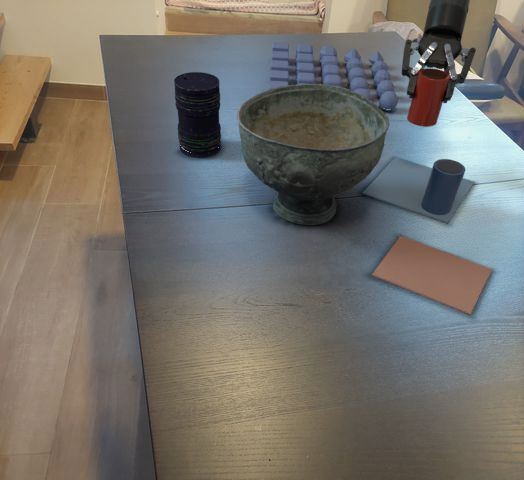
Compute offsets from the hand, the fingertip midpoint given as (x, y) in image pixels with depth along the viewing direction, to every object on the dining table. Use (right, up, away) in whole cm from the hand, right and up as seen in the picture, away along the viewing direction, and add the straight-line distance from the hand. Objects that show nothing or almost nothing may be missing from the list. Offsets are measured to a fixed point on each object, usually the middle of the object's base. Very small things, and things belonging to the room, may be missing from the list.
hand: (428, 98), depth 102 cm
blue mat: (+1, -15, +10) cm, 18 cm away
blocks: (-14, +27, +46) cm, 55 cm away
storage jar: (-48, -3, +18) cm, 51 cm away
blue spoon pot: (+3, -20, +5) cm, 21 cm away
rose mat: (-2, -36, -9) cm, 38 cm away
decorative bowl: (-25, -21, +3) cm, 33 cm away
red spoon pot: (0, -2, +5) cm, 5 cm away
